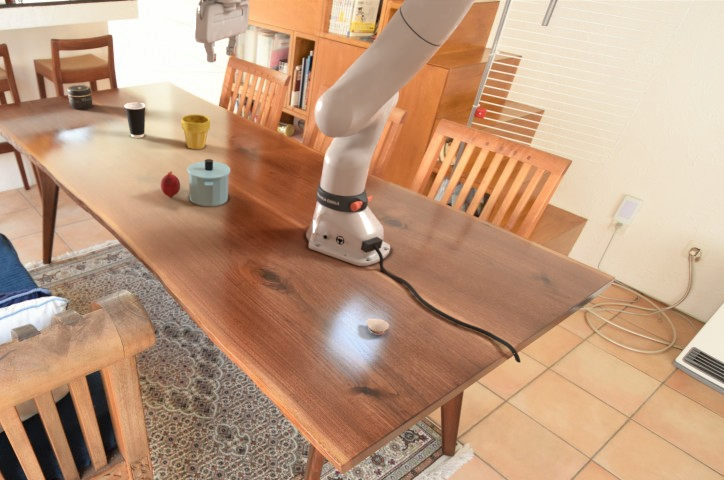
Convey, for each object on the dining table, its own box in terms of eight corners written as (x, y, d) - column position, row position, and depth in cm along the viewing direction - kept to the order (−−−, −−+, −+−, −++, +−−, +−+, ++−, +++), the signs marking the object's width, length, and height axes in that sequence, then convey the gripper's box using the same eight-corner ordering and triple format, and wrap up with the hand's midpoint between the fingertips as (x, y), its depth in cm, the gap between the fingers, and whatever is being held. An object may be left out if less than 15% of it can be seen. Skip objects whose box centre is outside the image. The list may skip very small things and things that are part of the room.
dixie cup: (151, 136, 188) (149, 106, 181) (133, 140, 185) (130, 109, 177) (141, 130, 193) (139, 101, 186) (123, 134, 189) (120, 104, 182)
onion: (177, 202, 146) (176, 176, 140) (159, 200, 146) (157, 174, 141) (182, 194, 150) (181, 168, 145) (164, 192, 151) (163, 166, 145)
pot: (227, 186, 155) (227, 160, 150) (228, 210, 142) (229, 183, 137) (190, 186, 155) (189, 159, 149) (188, 210, 142) (188, 182, 136)
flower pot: (214, 149, 180) (214, 121, 173) (187, 152, 177) (186, 124, 170) (204, 140, 187) (204, 113, 180) (178, 143, 184) (177, 115, 177)
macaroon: (377, 340, 100) (380, 330, 98) (358, 327, 103) (361, 317, 101) (390, 332, 102) (394, 323, 100) (372, 320, 105) (375, 310, 103)
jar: (86, 102, 220) (83, 83, 215) (97, 107, 215) (94, 88, 210) (66, 105, 216) (62, 86, 210) (76, 111, 210) (73, 92, 205)
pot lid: (229, 164, 148) (229, 152, 146) (230, 181, 139) (231, 169, 136) (188, 164, 148) (187, 152, 146) (186, 181, 138) (186, 168, 136)
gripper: (211, -3, 107) (210, 68, 116) (254, -11, 120) (250, 53, 129) (187, -6, 109) (188, 63, 118) (232, -14, 122) (230, 49, 132)
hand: (221, 58), depth 124 cm, fingers open, 8 cm apart
